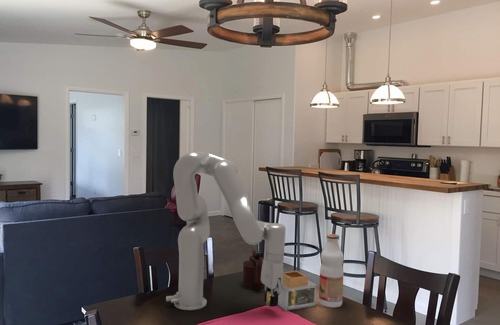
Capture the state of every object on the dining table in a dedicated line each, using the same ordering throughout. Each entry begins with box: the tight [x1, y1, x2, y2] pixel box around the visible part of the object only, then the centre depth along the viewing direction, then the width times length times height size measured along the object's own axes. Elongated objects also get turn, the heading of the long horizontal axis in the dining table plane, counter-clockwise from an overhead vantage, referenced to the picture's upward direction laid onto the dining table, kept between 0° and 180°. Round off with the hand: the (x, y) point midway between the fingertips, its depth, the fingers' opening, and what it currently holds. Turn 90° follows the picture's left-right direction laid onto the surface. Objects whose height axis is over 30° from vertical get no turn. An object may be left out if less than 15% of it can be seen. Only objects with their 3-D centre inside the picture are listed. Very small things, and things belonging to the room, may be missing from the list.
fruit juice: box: [318, 233, 345, 309], centre depth 162 cm, size 9×9×28 cm
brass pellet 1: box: [265, 290, 275, 307], centre depth 152 cm, size 4×4×5 cm
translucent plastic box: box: [274, 270, 318, 312], centre depth 161 cm, size 14×12×12 cm
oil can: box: [242, 245, 265, 290], centre depth 184 cm, size 28×11×25 cm, turn 11°
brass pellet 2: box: [288, 290, 298, 303], centre depth 162 cm, size 4×4×5 cm
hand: (271, 303), depth 152 cm, fingers closed on brass pellet 1, 3 cm apart
